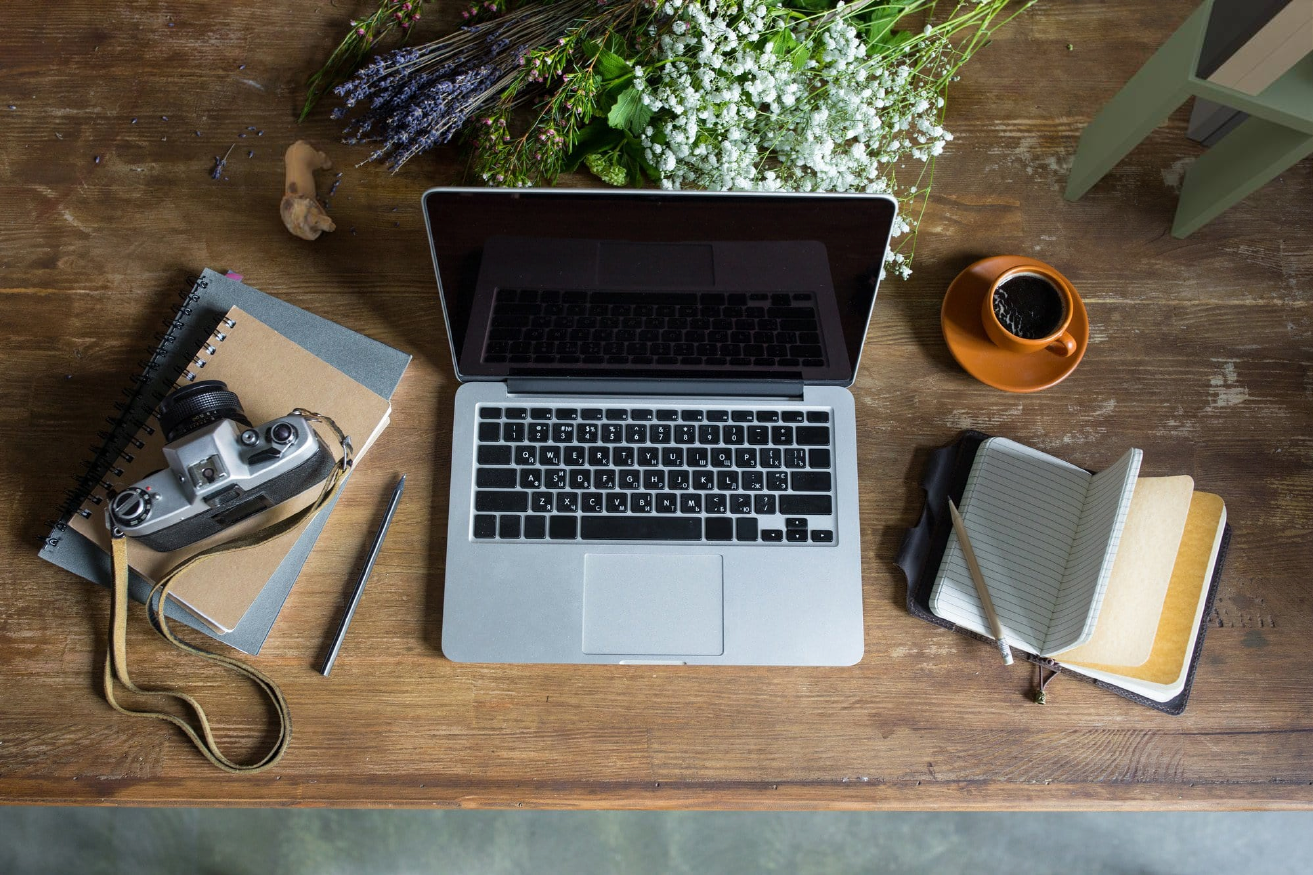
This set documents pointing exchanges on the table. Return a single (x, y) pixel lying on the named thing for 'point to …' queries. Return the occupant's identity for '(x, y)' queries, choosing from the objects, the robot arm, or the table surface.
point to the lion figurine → (304, 192)
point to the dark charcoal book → (1254, 42)
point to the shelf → (1263, 146)
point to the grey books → (1213, 121)
